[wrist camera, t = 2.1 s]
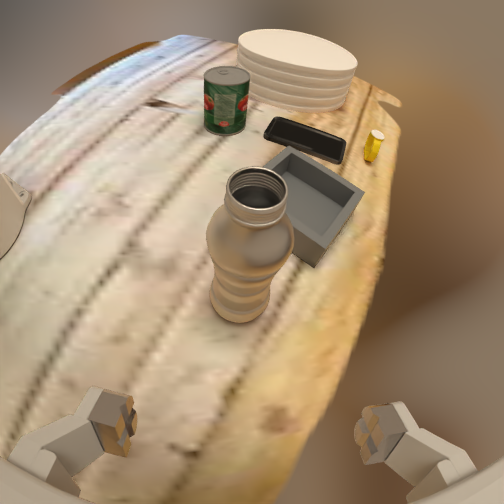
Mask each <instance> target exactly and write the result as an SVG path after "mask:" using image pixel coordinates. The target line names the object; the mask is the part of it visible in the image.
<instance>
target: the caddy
mask: <svg viewBox="0 0 504 504" xmlns="http://www.w3.org/2000/svg"><path fill="white" fill-rule="evenodd" d="M263 168H267V169H270V170H272V171H274V172H276V173H277V174H279V175H280V176H281V177H282V178H283V179H284V180H285V182H286V184H287V186H288V198H287V201H286V204H287V205H286V211H285V213H286V214H287V215H288V217H289V218H290V220H291V223H292V225H293V231H294V247H293V250H292V253H294V254H295V255H296V256H298V257H299V258H301V259H302V260H303V261H305V262H306V263H308V264H309V265H310V266H312V267H313V268H314V267H315V266H316V264H317V263H318V262H319V260H320V259H321V257H322V256H323V255H324V253H325V252H326V250H327V249H328V248H329V246H330V245H331V243H332V242H333V241H334V239H335V238H336V236H337V235H338V233H339V232H340V231H341V229H342V228H343V226H344V225H345V223H346V222H347V220H348V219H349V218H350V216H351V215H352V213H353V212H354V210H355V208H356V207H357V205H358V203H359V202H360V200H361V198H362V196H363V195H364V193H365V192H364V191H362V190H361V189H359V188H358V187H356V186H355V185H353V184H352V183H350V182H349V181H347V180H345V179H344V178H342V177H341V176H339V175H338V174H336V173H334V172H333V171H331V170H330V169H328V168H326V167H325V166H323V165H322V164H320V163H318V162H317V161H315V160H313V159H312V158H310V157H308V156H306V155H305V154H303V153H301V152H300V151H298V150H296V149H294V148H293V147H291V146H288V147H286V148H285V149H284V150H283V151H282V152H280V153H279V154H278V155H277V156H275V157H274V158H273V159H272V160H270V161H269V162H268V163H267V164H266V165H264V166H263Z"/></svg>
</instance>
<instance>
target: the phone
mask: <svg viewBox="0 0 504 504" xmlns="http://www.w3.org/2000/svg"><path fill="white" fill-rule="evenodd" d="M264 138H265V139H266V140H269V141H272V142H275V143H278V144H281V145H284V146H287V147H288V146H291V147H293V148H294V149H296V150H299V151H301V152H304V153H307V154H310V155H312V156H315V157H318V158H320V159H323V160H326V161H328V162H331V163H333V164H341V162H342V160H343V156H344V151H345V147H346V141H345V140H344V139H342V138H339V137H337V136H334V135H332V134H329V133H326V132H324V131H321V130H318V129H315V128H312V127H310V126H307V125H304V124H301V123H298V122H295V121H292V120H288V119H285V118H282V117H274V118H273V120H272V121H271V123H270V124H269V126H268V127H267V129H266V130H265V132H264Z"/></svg>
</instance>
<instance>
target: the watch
mask: <svg viewBox="0 0 504 504" xmlns="http://www.w3.org/2000/svg"><path fill="white" fill-rule="evenodd" d="M384 138H385V137H384V135H383V134H382V133H381V132H380V131H378V130H372V131H371V133H370V134H369V136H368V138H367V141H366V144H365V148H364V158H365V160H367V161H369V162H373V161H374V160H375V158H376V157H377V154H378V152H379V149H380V145H381V142H382V141H383V140H384ZM372 145H373V146H372ZM371 148H372V149H371Z"/></svg>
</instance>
